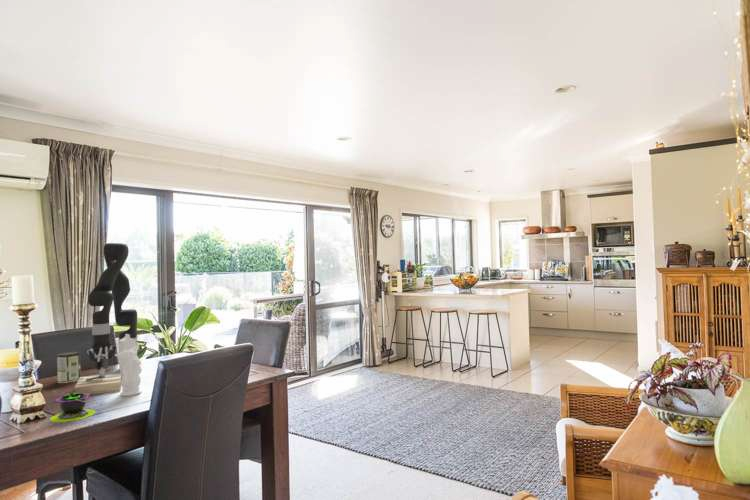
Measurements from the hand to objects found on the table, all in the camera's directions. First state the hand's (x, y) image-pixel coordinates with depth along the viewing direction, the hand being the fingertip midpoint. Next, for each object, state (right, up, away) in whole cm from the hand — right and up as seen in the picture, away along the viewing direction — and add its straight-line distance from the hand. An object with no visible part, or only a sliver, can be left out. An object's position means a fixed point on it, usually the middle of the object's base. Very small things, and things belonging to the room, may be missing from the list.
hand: (101, 368), depth 233 cm
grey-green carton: (-25, -10, +14) cm, 30 cm away
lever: (-1, -4, -3) cm, 5 cm away
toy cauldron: (+15, -7, -47) cm, 50 cm away
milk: (+3, -9, +20) cm, 22 cm away
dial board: (+1, -8, -4) cm, 9 cm away
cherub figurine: (+21, -7, -16) cm, 27 cm away
